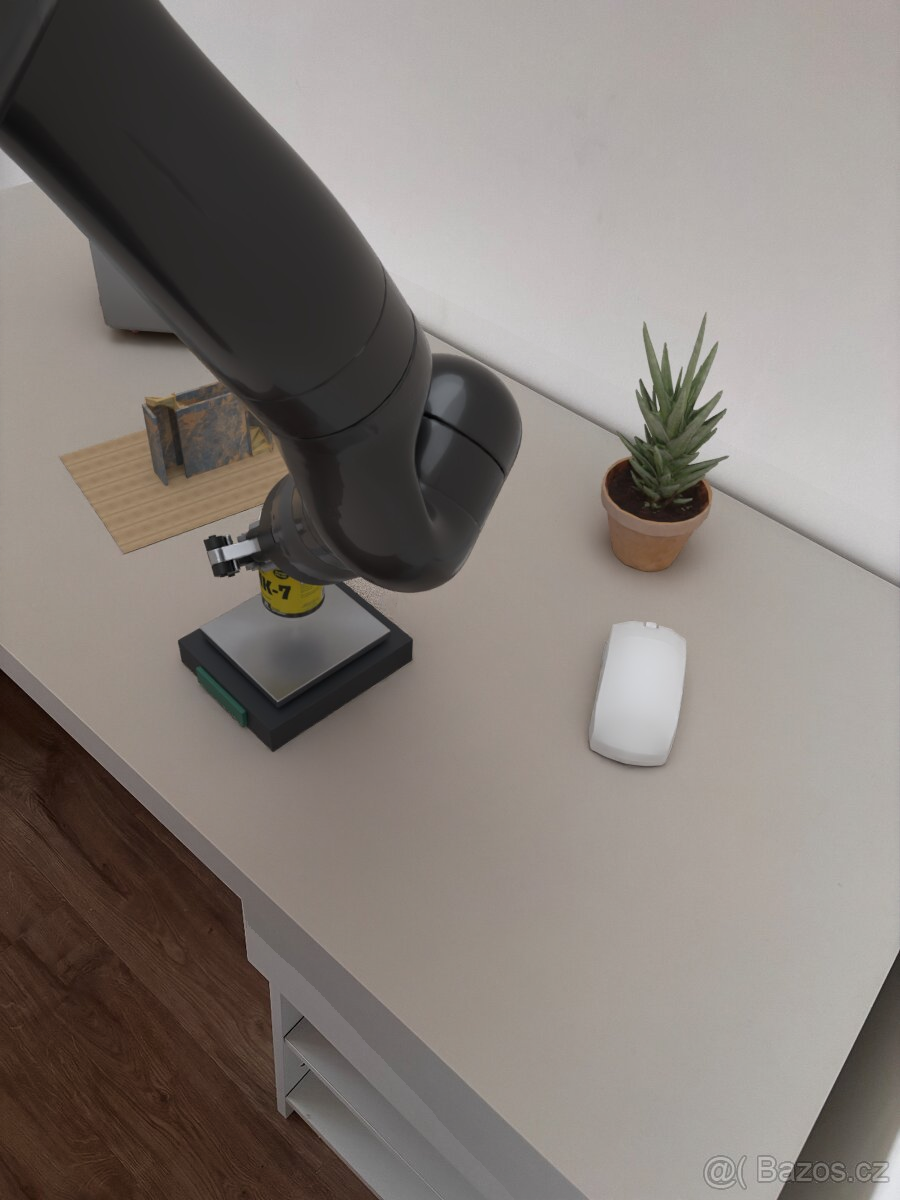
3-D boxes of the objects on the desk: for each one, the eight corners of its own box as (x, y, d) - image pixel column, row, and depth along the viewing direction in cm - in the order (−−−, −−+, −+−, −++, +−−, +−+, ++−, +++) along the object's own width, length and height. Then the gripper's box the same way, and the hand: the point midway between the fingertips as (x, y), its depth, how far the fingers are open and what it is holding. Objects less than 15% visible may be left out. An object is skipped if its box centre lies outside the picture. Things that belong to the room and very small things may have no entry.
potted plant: (574, 561, 95) (618, 314, 78) (613, 504, 101) (662, 262, 84) (679, 601, 92) (749, 353, 75) (713, 540, 98) (786, 297, 81)
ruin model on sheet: (124, 553, 93) (104, 464, 86) (58, 456, 102) (36, 369, 95) (368, 465, 104) (368, 380, 97) (289, 384, 113) (283, 301, 106)
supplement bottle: (249, 602, 80) (238, 516, 74) (294, 571, 83) (287, 486, 77) (293, 633, 78) (285, 548, 72) (338, 600, 80) (334, 515, 75)
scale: (268, 755, 78) (265, 734, 76) (177, 663, 84) (172, 642, 82) (412, 660, 86) (413, 638, 84) (319, 582, 92) (318, 561, 90)
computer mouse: (682, 654, 87) (698, 600, 83) (667, 778, 78) (684, 725, 74) (605, 638, 88) (617, 584, 84) (581, 759, 79) (593, 705, 75)
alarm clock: (148, 262, 131) (123, 107, 118) (275, 271, 130) (264, 117, 118) (101, 345, 117) (66, 180, 104) (244, 356, 116) (227, 191, 103)
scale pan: (278, 708, 78) (277, 701, 77) (200, 634, 83) (198, 627, 82) (390, 637, 83) (390, 630, 83) (311, 571, 88) (311, 564, 88)
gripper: (427, 429, 65) (357, 474, 81) (198, 485, 60) (171, 521, 76) (461, 547, 65) (384, 568, 81) (236, 612, 60) (201, 621, 76)
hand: (281, 545), depth 78 cm, fingers closed on supplement bottle, 4 cm apart
